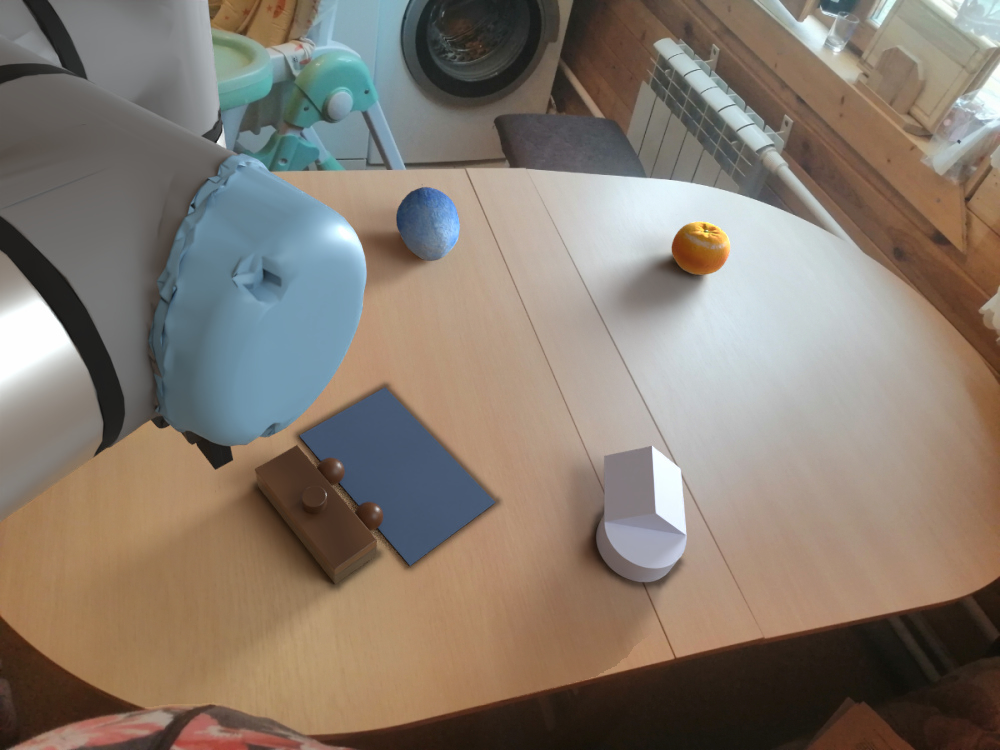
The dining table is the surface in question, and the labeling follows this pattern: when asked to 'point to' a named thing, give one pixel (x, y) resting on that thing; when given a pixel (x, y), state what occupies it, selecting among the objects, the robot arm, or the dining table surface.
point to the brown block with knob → (316, 513)
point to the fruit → (700, 248)
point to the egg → (428, 223)
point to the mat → (399, 473)
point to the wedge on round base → (642, 514)
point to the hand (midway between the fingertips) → (215, 452)
